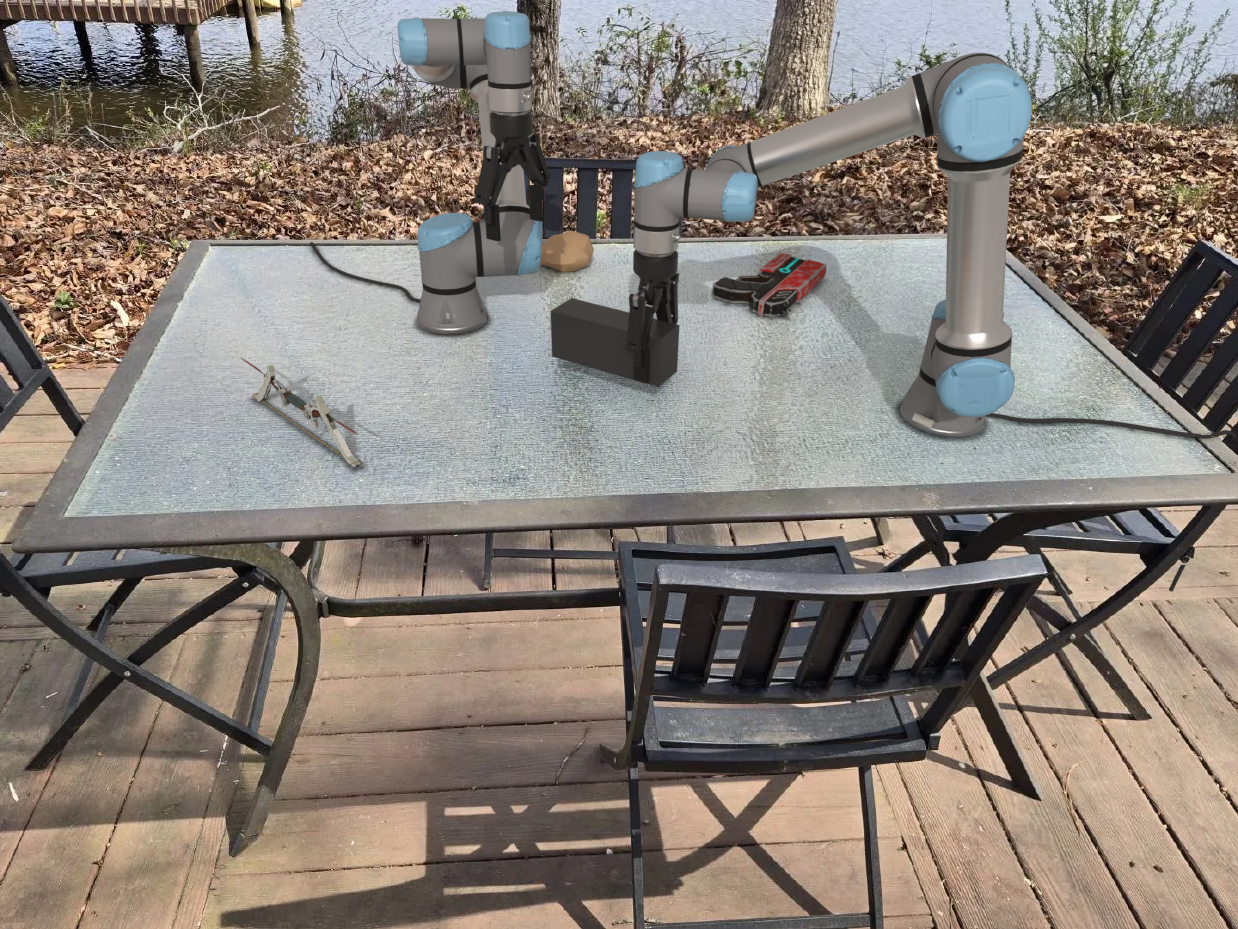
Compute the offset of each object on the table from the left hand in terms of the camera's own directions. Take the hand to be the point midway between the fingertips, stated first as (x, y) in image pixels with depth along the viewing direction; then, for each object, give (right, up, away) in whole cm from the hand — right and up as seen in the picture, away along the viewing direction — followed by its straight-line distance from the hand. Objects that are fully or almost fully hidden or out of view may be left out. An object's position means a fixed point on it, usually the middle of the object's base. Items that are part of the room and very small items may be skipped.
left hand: (515, 229), depth 166 cm
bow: (-37, -38, -9) cm, 54 cm away
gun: (+57, -2, +50) cm, 76 cm away
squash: (+3, +6, +60) cm, 60 cm away
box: (+19, -26, -4) cm, 32 cm away
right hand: (+25, -28, -7) cm, 38 cm away
